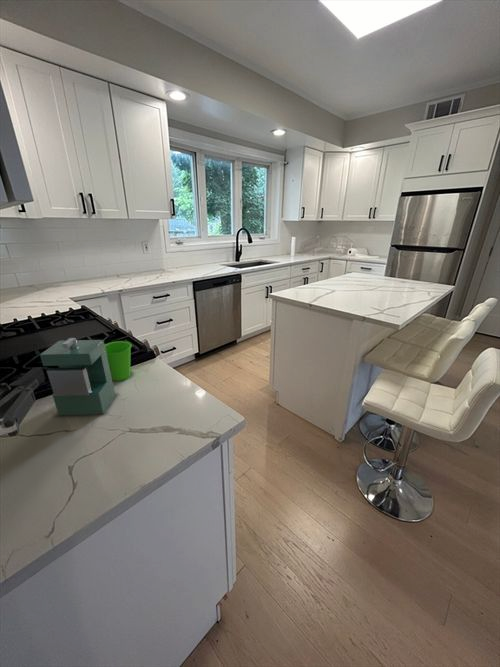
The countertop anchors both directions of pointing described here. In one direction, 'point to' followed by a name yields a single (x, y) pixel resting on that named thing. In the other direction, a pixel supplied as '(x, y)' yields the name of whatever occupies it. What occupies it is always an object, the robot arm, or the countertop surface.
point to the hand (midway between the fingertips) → (39, 373)
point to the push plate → (69, 381)
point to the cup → (119, 359)
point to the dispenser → (97, 370)
